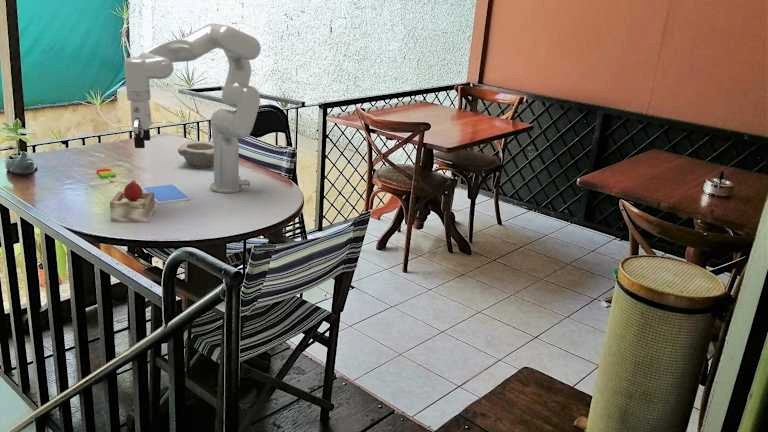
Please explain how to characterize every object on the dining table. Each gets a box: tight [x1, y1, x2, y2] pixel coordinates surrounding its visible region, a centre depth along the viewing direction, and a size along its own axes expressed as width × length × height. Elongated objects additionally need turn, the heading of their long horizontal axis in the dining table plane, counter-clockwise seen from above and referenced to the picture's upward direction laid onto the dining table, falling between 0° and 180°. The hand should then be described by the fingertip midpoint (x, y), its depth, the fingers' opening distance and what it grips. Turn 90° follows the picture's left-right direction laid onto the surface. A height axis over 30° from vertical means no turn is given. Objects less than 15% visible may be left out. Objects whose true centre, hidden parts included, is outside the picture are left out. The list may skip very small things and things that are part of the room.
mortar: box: [177, 140, 214, 169], centre depth 298 cm, size 17×17×9 cm
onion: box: [123, 179, 143, 202], centre depth 235 cm, size 6×6×8 cm
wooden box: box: [109, 190, 156, 223], centre depth 237 cm, size 12×12×7 cm
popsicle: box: [96, 168, 117, 183], centre depth 276 cm, size 6×15×2 cm, turn 34°
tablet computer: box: [141, 184, 191, 205], centre depth 261 cm, size 19×13×1 cm, turn 36°
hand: (142, 144), depth 237 cm, fingers open, 9 cm apart
